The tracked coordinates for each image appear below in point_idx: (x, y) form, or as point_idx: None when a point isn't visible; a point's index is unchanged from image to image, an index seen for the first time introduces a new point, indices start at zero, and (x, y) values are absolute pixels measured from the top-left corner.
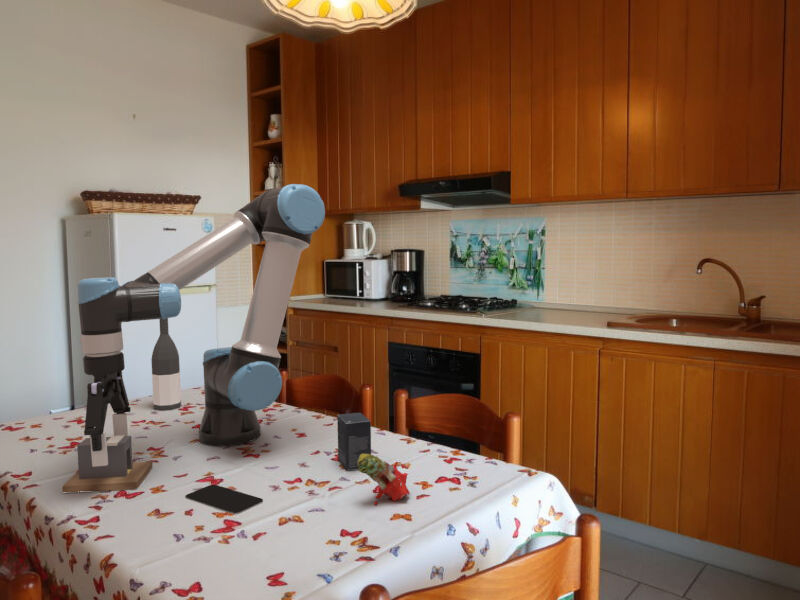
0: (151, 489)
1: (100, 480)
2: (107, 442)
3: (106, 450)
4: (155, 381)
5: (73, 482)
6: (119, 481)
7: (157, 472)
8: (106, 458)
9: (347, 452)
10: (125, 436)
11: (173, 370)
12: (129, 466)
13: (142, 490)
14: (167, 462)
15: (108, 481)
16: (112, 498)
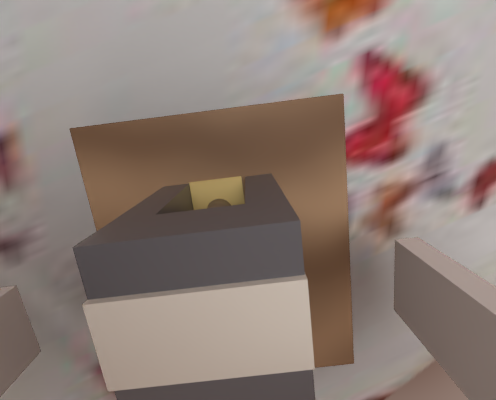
0: (342, 29)
1: (308, 258)
2: (296, 358)
3: (475, 286)
4: None
5: (318, 344)
6: (329, 175)
7: (140, 83)
8: (445, 256)
9: None
10: (97, 290)
11: None
12: (187, 193)
13: (348, 67)
14: (9, 84)
15: (323, 222)
16: (414, 158)
